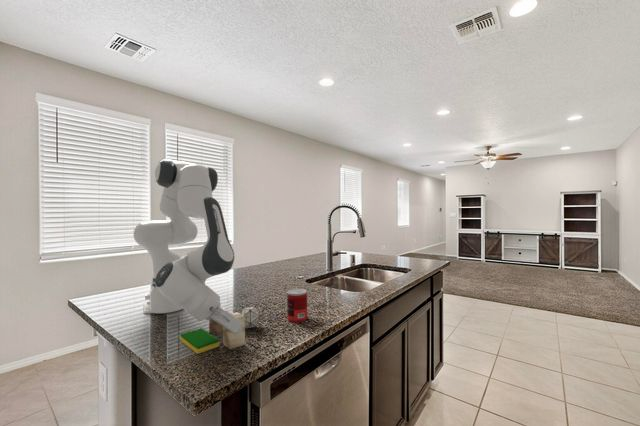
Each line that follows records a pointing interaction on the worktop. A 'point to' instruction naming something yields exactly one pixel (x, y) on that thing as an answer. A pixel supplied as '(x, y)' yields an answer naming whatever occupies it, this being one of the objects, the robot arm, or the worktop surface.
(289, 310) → the canned food
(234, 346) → the maple block
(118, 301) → the worktop surface
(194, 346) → the dish sponge
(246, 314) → the game die
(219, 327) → the walnut block
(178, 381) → the worktop surface
